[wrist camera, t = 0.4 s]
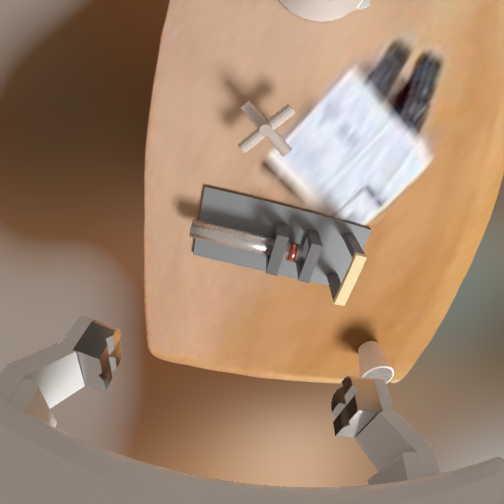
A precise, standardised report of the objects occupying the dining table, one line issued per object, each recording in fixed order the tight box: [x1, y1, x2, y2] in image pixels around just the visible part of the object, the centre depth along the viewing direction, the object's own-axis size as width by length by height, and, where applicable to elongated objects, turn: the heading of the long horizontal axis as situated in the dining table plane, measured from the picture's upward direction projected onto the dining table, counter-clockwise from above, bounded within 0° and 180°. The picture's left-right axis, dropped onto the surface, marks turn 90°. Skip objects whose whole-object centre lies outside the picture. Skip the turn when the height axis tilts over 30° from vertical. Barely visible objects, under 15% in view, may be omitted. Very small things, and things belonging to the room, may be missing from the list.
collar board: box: [193, 186, 371, 306], centre depth 54 cm, size 14×32×10 cm, turn 76°
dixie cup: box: [358, 341, 394, 383], centre depth 66 cm, size 8×8×10 cm
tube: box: [190, 219, 304, 262], centre depth 54 cm, size 4×20×4 cm, turn 77°
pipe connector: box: [238, 101, 295, 156], centre depth 44 cm, size 10×10×10 cm
